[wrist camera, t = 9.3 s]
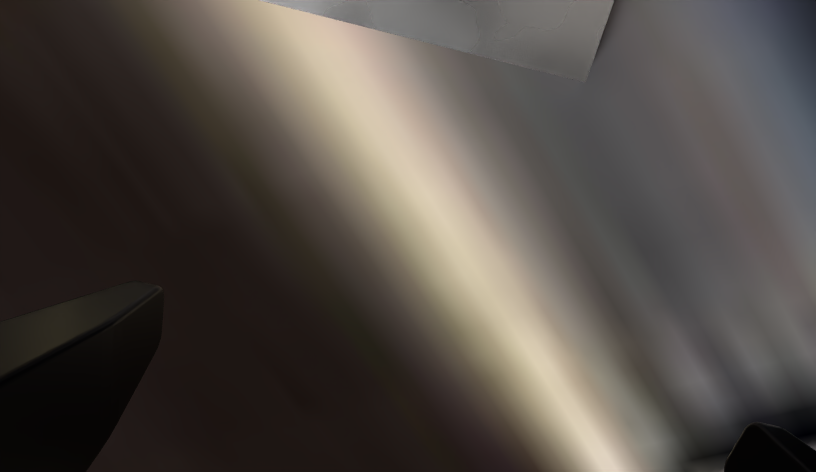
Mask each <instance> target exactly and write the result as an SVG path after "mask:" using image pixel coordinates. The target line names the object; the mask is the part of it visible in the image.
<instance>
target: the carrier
mask: <svg viewBox="0 0 816 472" xmlns="http://www.w3.org/2000/svg"><path fill="white" fill-rule="evenodd" d="M260 1H264V2H268V3H272V4H276V5H280V6H284V7H288V8H292V9H296V10H300V11H304V12H308V13H312V14H316V15H320V16H324V17H328V18H332V19H336V20H340V21H344V22H348V23H351V24H355V25H359V26H363V27H367V28H371V29H375V30H379V31H383V32H387V33H391V34H395V35H399V36H403V37H407V38H411V39H415V40H419V41H423V42H427V43H431V44H435V45H439V46H442V47H446V48H450V49H454V50H458V51H462V52H466V53H470V54H474V55H478V56H482V57H486V58H490V59H494V60H498V61H502V62H506V63H510V64H514V65H518V66H522V67H526V68H530V69H533V70H537V71H541V72H545V73H549V74H553V75H557V76H561V77H565V78H569V79H573V80H577V81H581V82H586V79H587V77H588V74H589V71H590V68H591V65H592V62H593V60H594V57H595V54H596V51H597V48H598V45H599V42H600V40H601V37H602V34H603V31H604V28H605V25H606V22H607V20H608V17H609V14H610V11H611V8H612V5H613V3H614V0H260Z"/></svg>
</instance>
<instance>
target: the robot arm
mask: <svg viewBox="0 0 816 472" xmlns="http://www.w3.org/2000/svg"><path fill="white" fill-rule="evenodd" d="M163 307H164V291H163V289H162V288H161V287H160V286H158V285H154V284H149V283H145V282H141V281H131V282H127V283H124V284H121V285H118V286H114V287H111V288H108V289H105V290H101V291H98V292H95V293H92V294H89V295H85V296H82V297H79V298H76V299H72V300H69V301H66V302H63V303H59V304H56V305H53V306H50V307H46V308H43V309H40V310H37V311H34V312H30V313H27V314H24V315H21V316H17V317H14V318H11V319H8V320H4V321H1V322H0V472H86V471H87V469H88V468H89V467H90V465H91V464H92V462H93V461H94V459H95V458H96V457H97V455H98V454H99V452H100V451H101V449H102V448H103V446H104V445H105V443H106V442H107V440H108V438H109V437H110V435H111V433H112V432H113V430H114V428H115V426H116V425H117V423H118V421H119V419H120V417H121V415H122V414H123V412H124V410H125V408H126V406H127V404H128V402H129V401H130V399H131V397H132V395H133V393H134V391H135V389H136V388H137V386H138V384H139V382H140V380H141V378H142V376H143V374H144V373H145V371H146V369H147V367H148V365H149V363H150V361H151V360H152V358H153V356H154V354H155V352H156V350H157V348H158V345H159V342H160V339H161V333H162V320H163ZM724 472H816V451H815V450H814V449H812V448H811V447H810V446H808V445H807V444H805V443H804V442H802V441H801V440H799V439H798V438H796V437H795V436H793V435H792V434H790V433H789V432H788V431H786V430H785V429H783V428H780V427H778V426H774V425H769V424H765V423H760V422H754V423H751V424H749V425H748V426H747V427H746V428H745V430H744V431H743V433H742V435H741V436H740V438H739V440H738V441H737V443H736V445H735V446H734V448H733V450H732V451H731V453H730V455H729V456H728V458H727V460H726V463H725V467H724Z"/></svg>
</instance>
